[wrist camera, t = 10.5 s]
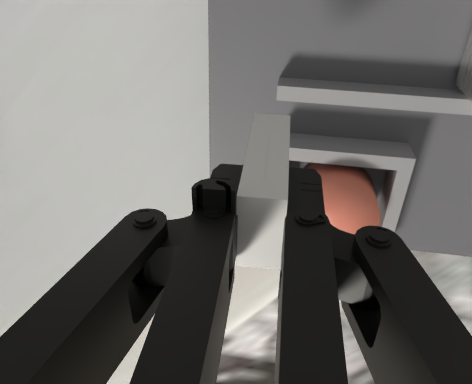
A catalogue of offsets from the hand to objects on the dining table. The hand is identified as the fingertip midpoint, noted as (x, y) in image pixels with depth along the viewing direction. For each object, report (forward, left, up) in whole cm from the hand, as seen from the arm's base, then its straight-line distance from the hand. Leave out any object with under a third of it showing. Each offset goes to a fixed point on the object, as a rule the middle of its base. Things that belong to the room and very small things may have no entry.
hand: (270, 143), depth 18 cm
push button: (+4, -6, -7) cm, 10 cm away
